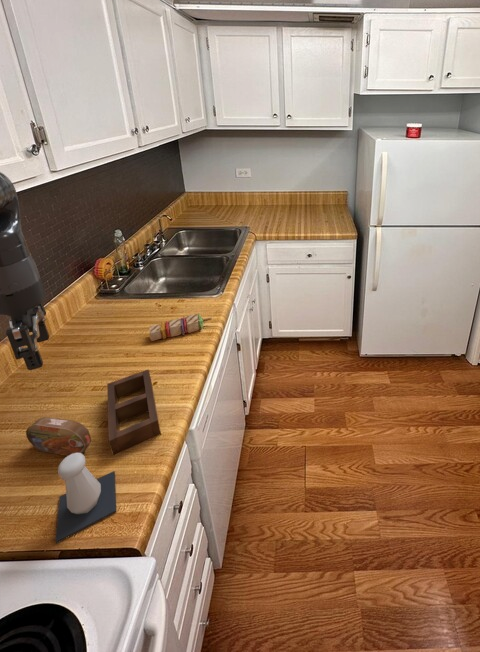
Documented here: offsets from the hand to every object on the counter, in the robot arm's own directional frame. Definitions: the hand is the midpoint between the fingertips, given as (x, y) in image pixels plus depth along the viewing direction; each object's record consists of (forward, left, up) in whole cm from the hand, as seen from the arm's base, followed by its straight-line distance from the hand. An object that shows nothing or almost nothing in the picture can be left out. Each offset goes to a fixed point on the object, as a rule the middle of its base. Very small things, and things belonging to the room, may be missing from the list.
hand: (39, 353), depth 65 cm
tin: (-4, +6, -32) cm, 33 cm away
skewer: (+29, +36, -32) cm, 56 cm away
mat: (+2, -11, -32) cm, 34 cm away
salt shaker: (+2, -11, -31) cm, 33 cm away
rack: (+12, +7, -32) cm, 35 cm away
